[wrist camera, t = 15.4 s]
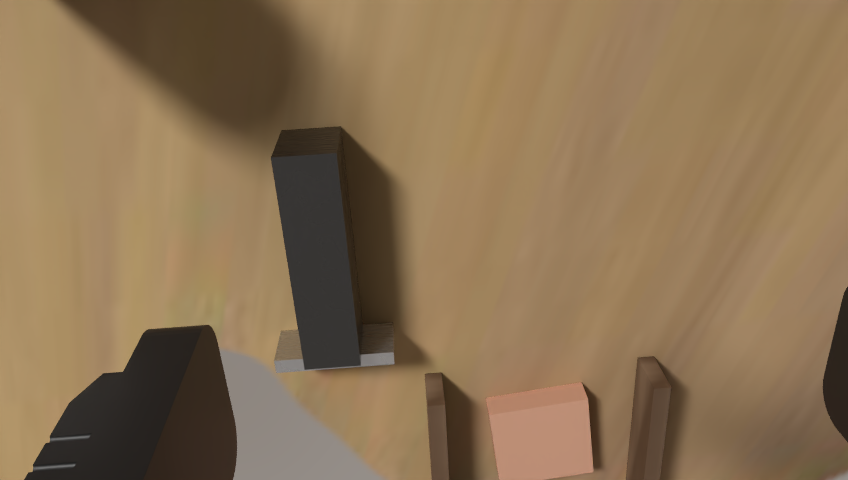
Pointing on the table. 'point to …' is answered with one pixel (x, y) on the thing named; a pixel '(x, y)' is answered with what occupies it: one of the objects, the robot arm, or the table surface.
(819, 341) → the table surface
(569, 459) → the tile
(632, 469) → the bay
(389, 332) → the long dark grey beam
